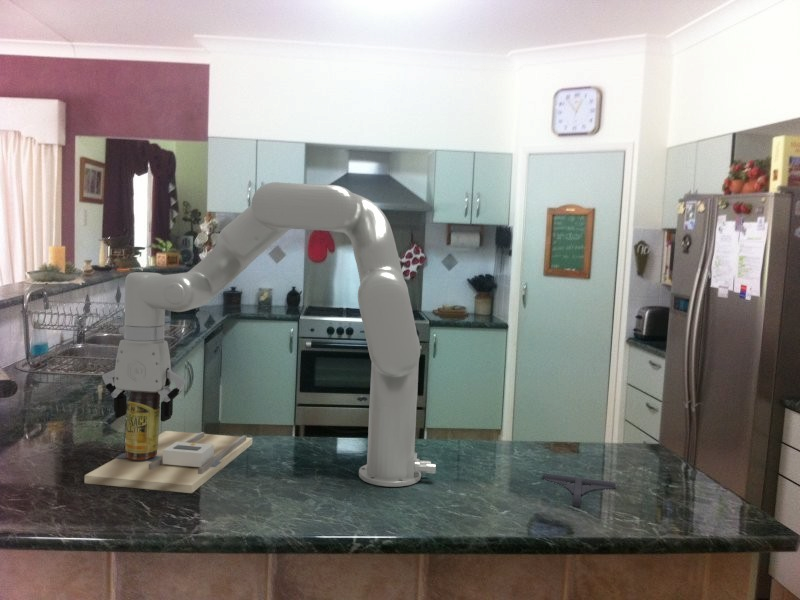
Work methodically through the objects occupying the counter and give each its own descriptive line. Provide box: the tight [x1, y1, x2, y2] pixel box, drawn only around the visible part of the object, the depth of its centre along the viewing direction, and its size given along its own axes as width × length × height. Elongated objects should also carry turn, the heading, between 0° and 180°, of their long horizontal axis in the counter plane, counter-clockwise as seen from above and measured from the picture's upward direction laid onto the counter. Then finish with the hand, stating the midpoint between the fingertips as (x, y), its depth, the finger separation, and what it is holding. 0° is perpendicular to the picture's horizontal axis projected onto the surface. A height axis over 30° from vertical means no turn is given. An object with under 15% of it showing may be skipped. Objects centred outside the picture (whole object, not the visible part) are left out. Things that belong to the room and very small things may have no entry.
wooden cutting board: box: [83, 430, 253, 494], centre depth 140 cm, size 21×32×2 cm, turn 173°
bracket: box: [542, 473, 616, 508], centre depth 131 cm, size 14×15×3 cm
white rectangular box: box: [163, 442, 214, 467], centre depth 135 cm, size 6×8×3 cm
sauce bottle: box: [124, 391, 161, 461], centre depth 136 cm, size 6×6×20 cm
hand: (143, 418), depth 136 cm, fingers open, 9 cm apart
